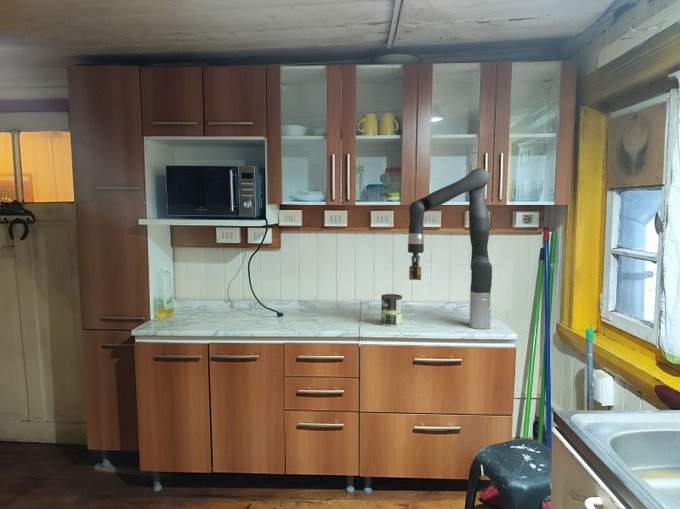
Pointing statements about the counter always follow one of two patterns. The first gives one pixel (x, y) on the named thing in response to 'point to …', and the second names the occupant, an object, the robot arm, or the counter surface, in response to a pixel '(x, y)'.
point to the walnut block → (417, 273)
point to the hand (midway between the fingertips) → (415, 277)
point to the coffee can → (391, 310)
